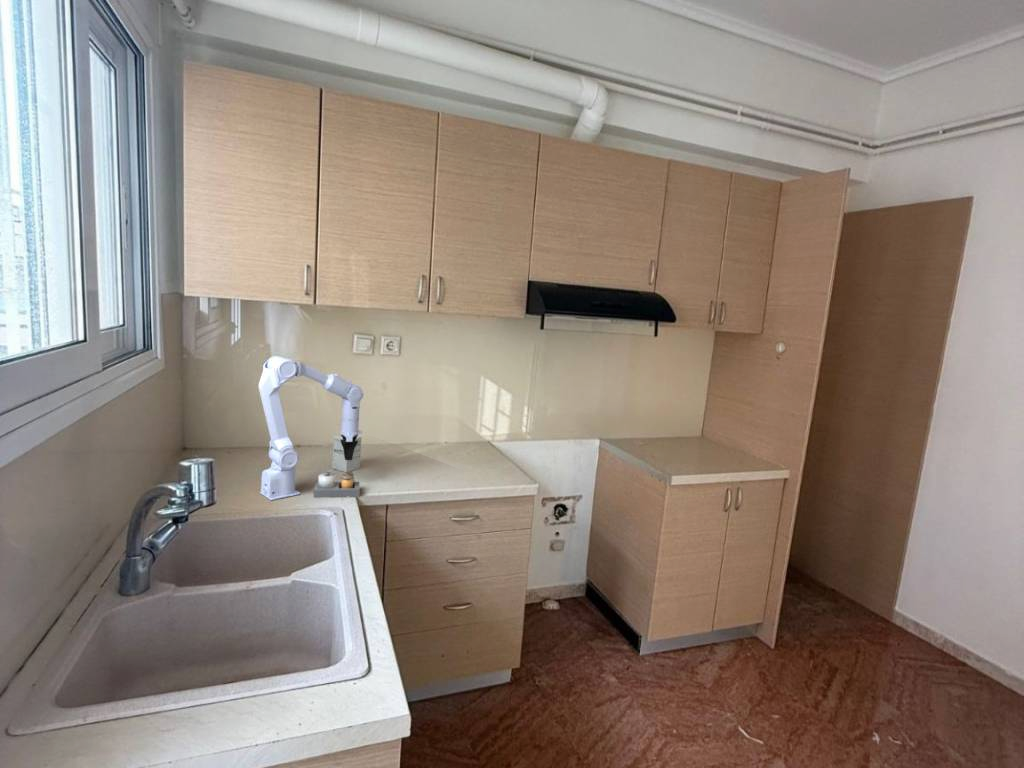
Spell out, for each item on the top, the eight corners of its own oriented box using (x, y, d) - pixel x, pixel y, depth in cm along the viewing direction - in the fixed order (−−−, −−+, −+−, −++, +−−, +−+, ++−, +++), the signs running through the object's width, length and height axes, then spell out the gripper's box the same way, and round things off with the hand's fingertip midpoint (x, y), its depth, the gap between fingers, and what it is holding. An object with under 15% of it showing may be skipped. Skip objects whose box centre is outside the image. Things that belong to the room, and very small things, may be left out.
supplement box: (331, 468, 195) (332, 436, 193) (346, 464, 201) (347, 433, 200) (345, 473, 191) (347, 439, 190) (360, 468, 198) (362, 436, 196)
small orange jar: (344, 495, 169) (345, 478, 168) (338, 492, 172) (338, 474, 171) (355, 493, 172) (356, 475, 171) (348, 489, 175) (349, 472, 174)
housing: (313, 497, 165) (314, 476, 164) (315, 489, 172) (316, 468, 172) (359, 496, 169) (360, 476, 168) (359, 488, 177) (360, 468, 176)
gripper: (362, 423, 173) (360, 462, 174) (362, 414, 186) (360, 451, 188) (340, 423, 171) (338, 462, 172) (341, 414, 184) (339, 451, 186)
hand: (348, 456), depth 180 cm, fingers open, 7 cm apart
